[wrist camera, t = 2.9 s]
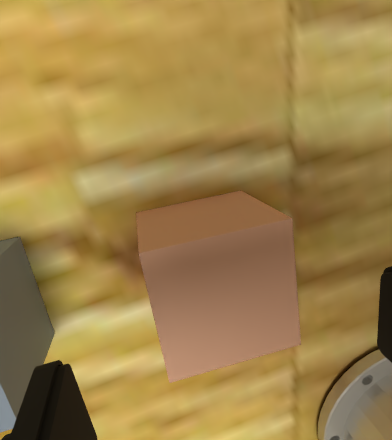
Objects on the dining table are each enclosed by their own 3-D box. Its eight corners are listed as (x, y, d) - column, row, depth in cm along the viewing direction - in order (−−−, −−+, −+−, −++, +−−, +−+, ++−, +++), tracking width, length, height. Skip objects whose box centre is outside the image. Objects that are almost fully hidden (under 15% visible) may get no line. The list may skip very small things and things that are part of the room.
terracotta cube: (240, 190, 18) (292, 218, 12) (251, 282, 19) (300, 344, 14) (136, 212, 17) (138, 253, 11) (157, 306, 19) (169, 382, 13)
